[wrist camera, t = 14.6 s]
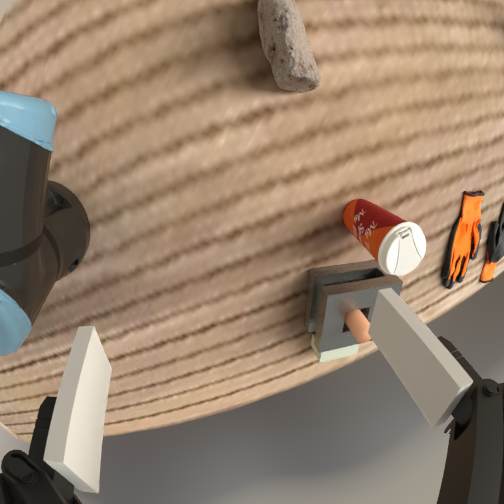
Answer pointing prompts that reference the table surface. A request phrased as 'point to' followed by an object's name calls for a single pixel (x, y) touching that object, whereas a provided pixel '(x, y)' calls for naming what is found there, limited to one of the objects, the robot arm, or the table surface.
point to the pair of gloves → (472, 242)
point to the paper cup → (386, 236)
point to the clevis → (343, 300)
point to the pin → (358, 325)
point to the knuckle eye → (334, 351)
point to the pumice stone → (287, 45)
